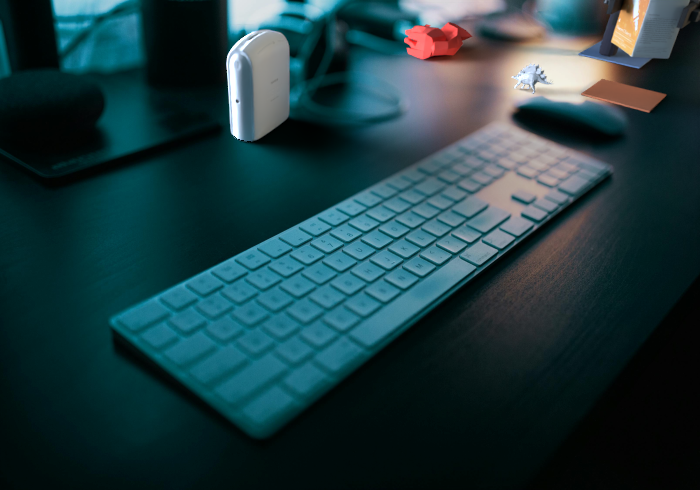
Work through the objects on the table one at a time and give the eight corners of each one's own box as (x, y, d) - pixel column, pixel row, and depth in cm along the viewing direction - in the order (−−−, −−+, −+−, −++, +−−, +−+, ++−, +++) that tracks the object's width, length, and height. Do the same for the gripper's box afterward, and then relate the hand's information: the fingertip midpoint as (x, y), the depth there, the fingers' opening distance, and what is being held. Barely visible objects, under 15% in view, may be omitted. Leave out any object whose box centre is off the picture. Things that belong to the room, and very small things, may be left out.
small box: (609, 42, 98) (636, -43, 90) (646, 44, 98) (675, -41, 91) (630, 57, 91) (660, -35, 84) (669, 59, 91) (703, -32, 84)
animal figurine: (478, 49, 117) (482, 23, 114) (445, 66, 106) (450, 37, 103) (426, 38, 122) (430, 12, 119) (390, 53, 111) (393, 25, 108)
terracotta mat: (665, 96, 100) (666, 94, 99) (649, 112, 92) (649, 110, 92) (601, 80, 105) (602, 78, 105) (581, 94, 97) (581, 93, 97)
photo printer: (255, 145, 73) (252, 45, 66) (226, 138, 74) (220, 38, 67) (293, 118, 81) (294, 26, 74) (266, 112, 82) (265, 21, 75)
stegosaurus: (548, 97, 95) (556, 69, 92) (507, 88, 98) (513, 60, 95) (552, 93, 97) (559, 65, 94) (511, 84, 100) (517, 57, 97)
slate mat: (662, 50, 126) (663, 49, 125) (638, 68, 113) (639, 67, 112) (606, 38, 131) (607, 37, 131) (578, 54, 118) (578, 53, 118)
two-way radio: (601, 49, 122) (624, -29, 113) (623, 53, 120) (649, -26, 112) (596, 55, 118) (620, -26, 109) (619, 59, 116) (645, -22, 108)
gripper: (739, 28, 100) (716, 53, 85) (608, 4, 110) (567, 22, 95) (759, -19, 95) (738, -2, 80) (621, -40, 106) (580, -28, 91)
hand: (645, 11), depth 88 cm, fingers closed on small box, 10 cm apart
